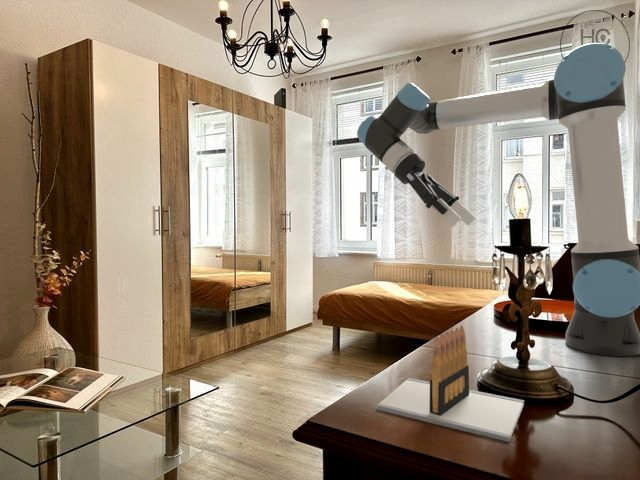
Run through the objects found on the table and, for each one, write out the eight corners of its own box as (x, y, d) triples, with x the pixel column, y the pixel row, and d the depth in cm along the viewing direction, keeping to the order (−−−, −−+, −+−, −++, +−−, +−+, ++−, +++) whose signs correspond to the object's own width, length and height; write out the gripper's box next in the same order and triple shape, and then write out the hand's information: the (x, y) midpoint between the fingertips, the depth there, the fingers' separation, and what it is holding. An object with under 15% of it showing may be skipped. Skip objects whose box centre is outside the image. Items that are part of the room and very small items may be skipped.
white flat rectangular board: (524, 404, 71) (524, 400, 71) (509, 442, 59) (509, 437, 59) (408, 381, 82) (408, 377, 82) (376, 409, 70) (376, 405, 70)
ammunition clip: (440, 416, 66) (439, 338, 65) (429, 412, 67) (428, 336, 67) (469, 394, 74) (469, 325, 73) (459, 391, 75) (458, 323, 74)
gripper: (412, 178, 121) (466, 231, 114) (373, 170, 101) (437, 235, 93) (430, 157, 118) (488, 211, 111) (394, 145, 97) (462, 210, 90)
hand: (464, 222), depth 102 cm, fingers open, 13 cm apart
